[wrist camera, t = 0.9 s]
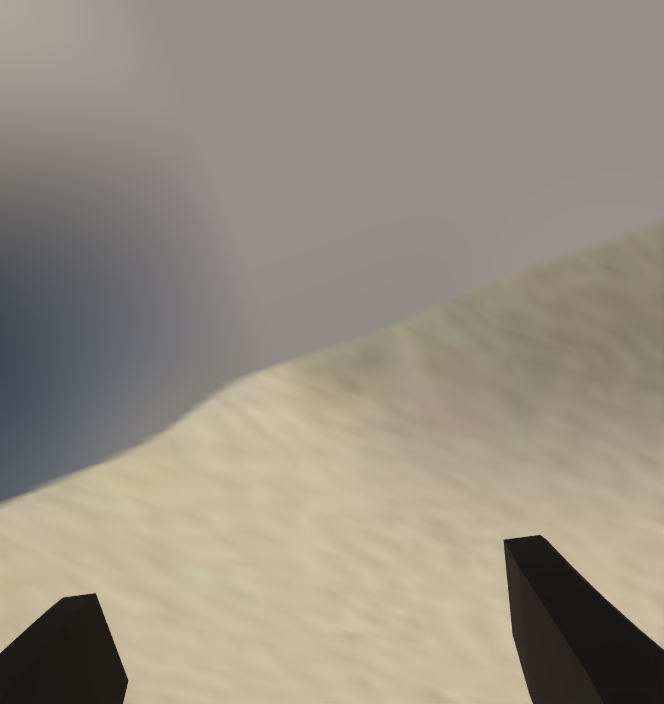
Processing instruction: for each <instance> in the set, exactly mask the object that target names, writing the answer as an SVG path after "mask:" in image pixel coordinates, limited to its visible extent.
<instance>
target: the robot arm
mask: <svg viewBox="0 0 664 704" xmlns="http://www.w3.org/2000/svg"><path fill="white" fill-rule="evenodd" d="M504 550H505V560H506V571H507V581H508V591H509V602H510V612H511V622H512V633H513V637H514V641H515V645H516V648H517V652H518V655H519V659H520V663H521V666H522V670H523V673H524V677H525V680H526V684H527V687H528V691H529V694H530V697H531V700H532V702H533V704H664V650H663V649H662V648H661V647H660V646H659V645H657V644H656V643H655V642H654V641H653V640H651V639H650V638H649V637H648V636H647V635H646V634H644V633H643V632H642V631H641V630H640V629H639V628H637V627H636V626H635V625H634V624H633V623H632V622H631V621H630V620H629V619H627V618H626V617H625V616H624V615H623V614H622V613H621V612H620V611H619V610H617V609H616V608H615V607H614V606H613V605H612V604H611V603H610V602H609V601H607V600H606V599H605V598H604V597H603V596H602V595H601V594H600V593H599V592H598V591H597V590H596V589H595V588H594V587H593V586H592V585H591V584H590V583H589V582H587V581H586V580H585V579H584V578H583V577H582V576H581V575H580V574H579V573H578V572H577V571H576V570H575V569H574V568H573V567H572V566H571V565H570V564H569V563H568V562H567V561H566V560H565V559H564V557H563V556H562V555H561V554H560V553H559V552H558V551H557V550H556V549H555V548H554V547H553V546H552V545H551V544H550V543H549V542H548V541H547V540H546V539H545V538H544V537H542V536H541V535H536V536H528V537H521V538H513V539H506V540H504ZM127 684H128V678H127V676H126V673H125V670H124V668H123V665H122V662H121V660H120V657H119V654H118V652H117V649H116V646H115V644H114V641H113V638H112V636H111V633H110V630H109V628H108V625H107V622H106V619H105V617H104V614H103V611H102V609H101V606H100V603H99V601H98V598H97V595H96V593H94V594H86V595H79V596H71V597H64V598H62V599H61V600H60V601H58V602H57V603H56V604H55V605H53V606H52V607H51V608H50V609H49V610H48V611H46V612H45V613H44V614H43V615H42V616H41V617H40V618H38V619H37V620H36V621H35V622H34V623H33V624H32V625H31V626H29V627H28V628H27V629H26V630H25V631H24V632H23V633H22V634H21V635H20V636H18V637H17V638H16V639H15V640H14V641H13V642H12V643H11V644H10V645H9V646H8V647H7V648H5V649H4V650H3V651H2V652H1V653H0V704H123V701H124V697H125V693H126V688H127Z"/></svg>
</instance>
